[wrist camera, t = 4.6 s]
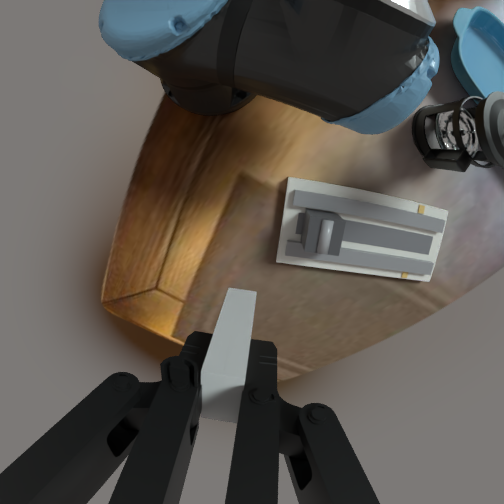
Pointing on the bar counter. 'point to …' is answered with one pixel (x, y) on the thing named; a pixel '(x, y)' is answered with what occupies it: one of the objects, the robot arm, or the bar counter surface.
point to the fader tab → (322, 232)
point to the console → (364, 231)
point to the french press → (463, 133)
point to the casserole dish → (478, 51)
